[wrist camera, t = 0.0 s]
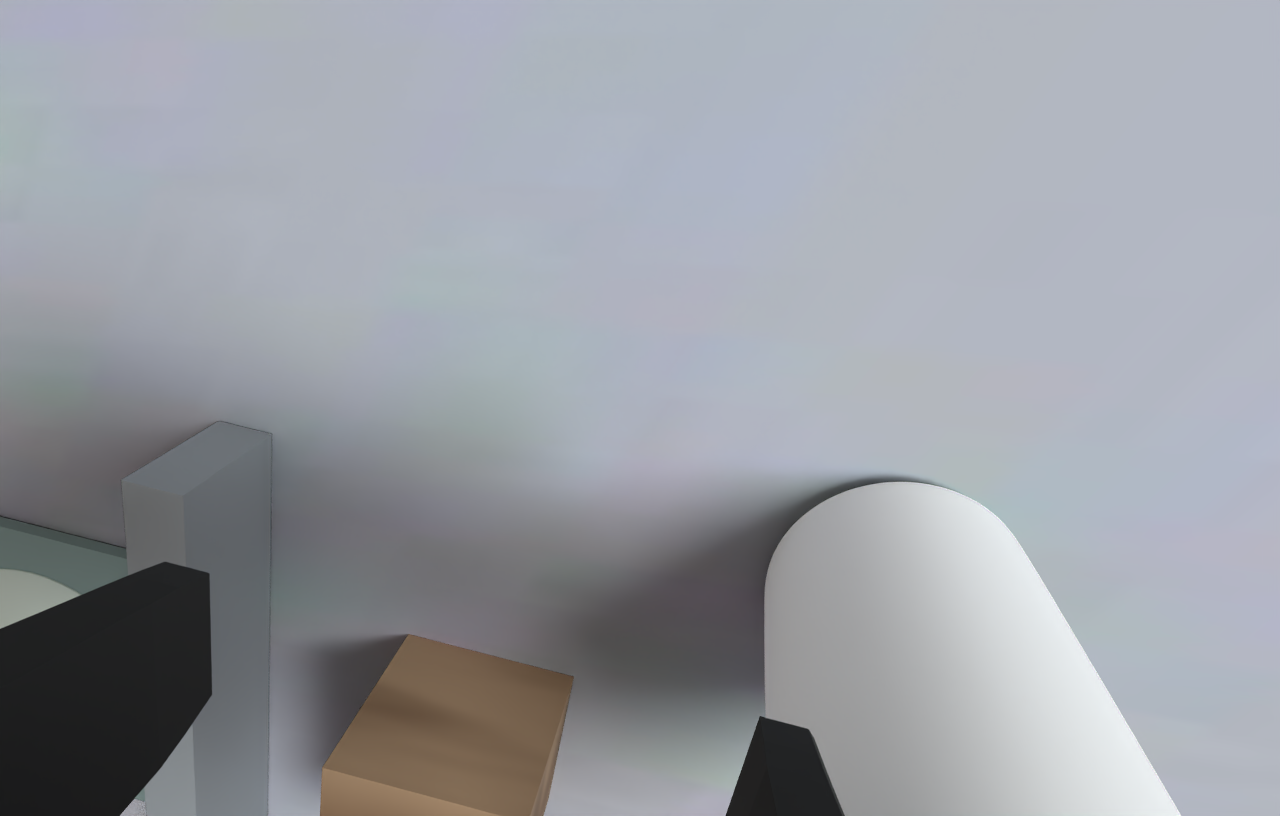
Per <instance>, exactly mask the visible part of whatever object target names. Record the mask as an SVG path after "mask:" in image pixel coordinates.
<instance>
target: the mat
mask: <svg viewBox="0 0 1280 816" xmlns="http://www.w3.org/2000/svg"><path fill="white" fill-rule="evenodd" d="M126 576H128V565H127V552H126V549H125V548H121V547H117V546H113V545H109V544H105V543H101V542H97V541H94V540H90V539H86V538H82V537H78V536H74V535H70V534H66V533H62V532H59V531H55V530H51V529H47V528H43V527H39V526H35V525H31V524H27V523H23V522H20V521H16V520H12V519H8V518H4V517H0V629H1V628H3V627H6V626H8V625H10V624H13V623H15V622H18V621H20V620H22V619H25V618H27V617H30V616H32V615H35V614H37V613H39V612H42V611H44V610H47V609H49V608H51V607H54V606H56V605H59V604H61V603H63V602H66V601H68V600H70V599H73V598H75V597H77V596H80V595H82V594H85V593H87V592H89V591H92V590H94V589H97V588H99V587H101V586H104V585H106V584H109V583H111V582H113V581H116V580H118V579H121V578H123V577H126ZM135 799H138V800H141V801H145V789H144V788H143V789H142V791H141V792H140V793H139V794H138V795H137V796H136V797H135Z"/></svg>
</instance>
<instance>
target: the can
mask: <svg viewBox="0 0 1280 816" xmlns="http://www.w3.org/2000/svg"><path fill="white" fill-rule="evenodd" d="M764 647H765V718H769V719H772V720H776V721H780V722H784V723H788V724H792V725H795V726H799V727H803V728H807V729H809V730H810V732H811V734H812V735H813V737H814V739H815V741H816V744H817V747H818V749H819V752H820V755H821V757H822V760H823V762H824V765H825V768H826V770H827V773H828V775H829V778H830V780H831V783H832V786H833V788H834V790H835V793H836V795H837V798H838V800H839V803H840V805H841V808H842V810H843V812H844V815H845V816H1181V814H1180V813H1179V811H1178V809H1177V808H1176V806H1175V804H1174V803H1173V801H1172V799H1171V797H1170V796H1169V794H1168V792H1167V791H1166V789H1165V787H1164V785H1163V784H1162V782H1161V780H1160V779H1159V777H1158V775H1157V774H1156V772H1155V770H1154V768H1153V767H1152V765H1151V763H1150V762H1149V760H1148V758H1147V757H1146V755H1145V753H1144V751H1143V750H1142V748H1141V746H1140V745H1139V743H1138V741H1137V740H1136V738H1135V736H1134V734H1133V733H1132V731H1131V729H1130V728H1129V726H1128V724H1127V723H1126V721H1125V719H1124V718H1123V716H1122V714H1121V712H1120V711H1119V709H1118V707H1117V706H1116V704H1115V702H1114V701H1113V699H1112V697H1111V696H1110V694H1109V692H1108V690H1107V689H1106V687H1105V685H1104V684H1103V682H1102V680H1101V679H1100V677H1099V675H1098V674H1097V672H1096V670H1095V668H1094V667H1093V665H1092V663H1091V662H1090V660H1089V658H1088V657H1087V655H1086V653H1085V652H1084V650H1083V648H1082V647H1081V645H1080V643H1079V642H1078V640H1077V638H1076V636H1075V635H1074V633H1073V631H1072V630H1071V628H1070V626H1069V625H1068V623H1067V621H1066V620H1065V618H1064V616H1063V615H1062V613H1061V611H1060V610H1059V608H1058V606H1057V605H1056V603H1055V601H1054V600H1053V598H1052V596H1051V595H1050V593H1049V591H1048V590H1047V588H1046V586H1045V585H1044V583H1043V581H1042V580H1041V578H1040V576H1039V575H1038V573H1037V571H1036V570H1035V568H1034V566H1033V565H1032V563H1031V562H1030V560H1029V558H1028V557H1027V555H1026V553H1025V552H1024V550H1023V549H1022V547H1021V546H1020V544H1019V542H1018V541H1017V539H1016V538H1015V537H1014V535H1013V534H1012V533H1011V531H1010V530H1009V529H1008V528H1007V527H1006V525H1005V524H1004V523H1003V522H1002V521H1001V520H1000V519H999V518H998V517H997V516H996V515H994V514H993V513H992V512H991V511H990V510H988V509H987V508H986V507H984V506H983V505H981V504H979V503H978V502H976V501H974V500H973V499H971V498H969V497H967V496H965V495H962V494H960V493H958V492H955V491H952V490H949V489H946V488H943V487H939V486H935V485H930V484H924V483H915V482H885V483H877V484H871V485H866V486H862V487H858V488H854V489H851V490H848V491H845V492H842V493H840V494H838V495H835V496H833V497H831V498H829V499H827V500H825V501H823V502H822V503H820V504H818V505H817V506H815V507H814V508H812V509H811V510H810V511H808V512H807V513H806V514H804V515H803V516H802V517H801V518H800V519H799V520H798V521H797V522H796V523H795V524H794V525H793V526H792V527H791V528H790V529H789V530H788V531H787V533H786V534H785V535H784V537H783V538H782V539H781V541H780V543H779V544H778V546H777V548H776V550H775V552H774V554H773V556H772V558H771V561H770V564H769V567H768V571H767V576H766V583H765V598H764Z"/></svg>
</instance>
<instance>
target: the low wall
mask: <svg viewBox="0 0 1280 816" xmlns="http://www.w3.org/2000/svg"><path fill="white" fill-rule="evenodd" d="M271 459H272V434H270V433H266V432H262V431H258V430H254V429H250V428H245V427H241V426H237V425H233V424H229V423H225V422H221V421H218V422H216V423H215V424H213V425H211V426H210V427H208V428H206V429H205V430H203V431H201V432H200V433H198V434H196V435H195V436H193V437H191V438H190V439H188V440H186V441H185V442H183V443H182V444H180V445H178V446H177V447H175V448H173V449H172V450H170V451H168V452H167V453H165V454H163V455H162V456H160V457H158V458H157V459H155V460H153V461H152V462H150V463H148V464H147V465H145V466H143V467H142V468H140V469H138V470H137V471H135V472H134V473H132V474H130V475H129V476H127V477H125V478H124V479H122V480H121V486H122V500H123V513H124V526H125V539H126V552H127V565H128V575H131V574H133V573H136V572H138V571H141V570H143V569H146V568H149V567H151V566H154V565H157V564H160V563H162V562H169V563H173V564H177V565H181V566H185V567H188V568H192V569H196V570H200V571H204V572H208V573H210V616H211V661H212V696H211V697H210V699H209V700H208V702H207V703H206V704H205V706H204V707H203V709H202V710H201V712H200V713H199V715H198V716H197V718H196V719H195V721H194V722H193V724H192V725H191V727H190V728H189V730H188V731H187V732H186V734H185V735H184V737H183V738H182V740H181V741H180V742H179V744H178V745H177V746H176V748H175V749H174V751H173V752H172V753H171V755H170V756H169V757H168V759H167V760H166V762H165V763H164V764H163V766H162V767H161V768H160V770H159V771H158V772H157V773H156V774H155V775H154V777H153V778H152V779H151V780H150V781H149V782H148V784H147V785H146V786H145V787H144V789H145V802H146V816H268V735H269V643H270V551H271Z"/></svg>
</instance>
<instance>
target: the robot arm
mask: <svg viewBox="0 0 1280 816" xmlns="http://www.w3.org/2000/svg"><path fill="white" fill-rule="evenodd" d="M211 696H212V661H211V616H210V573H208V572H204V571H200V570H196V569H192V568H188V567H185V566H181V565H177V564H173V563H169V562H162V563H160V564H157V565H154V566H151V567H149V568H146V569H143V570H141V571H138V572H136V573H133V574H131V575H128V576H126V577H123V578H121V579H118V580H116V581H113V582H111V583H109V584H106V585H104V586H101V587H99V588H97V589H94V590H92V591H89V592H87V593H85V594H82V595H80V596H77V597H75V598H73V599H70V600H68V601H66V602H63V603H61V604H59V605H56V606H54V607H51V608H49V609H47V610H44V611H42V612H39V613H37V614H35V615H32V616H30V617H27V618H25V619H22V620H20V621H18V622H15V623H13V624H10V625H8V626H6V627H3V628H1V629H0V816H120V814H121V813H122V812H123V811H124V810H125V809H126V808H127V806H128V805H129V804H130V803H131V802H132V801H133V800H134V799H135V797H136V796H137V795H138V794H139V793H140V792H141V791H142V789H143V788H144V787H145V786H146V785H147V784H148V782H149V781H150V780H151V779H152V778H153V777H154V775H155V774H156V773H157V772H158V771H159V770H160V768H161V767H162V766H163V764H164V763H165V762H166V760H167V759H168V757H169V756H170V755H171V753H172V752H173V751H174V749H175V748H176V746H177V745H178V744H179V742H180V741H181V740H182V738H183V737H184V735H185V734H186V732H187V731H188V730H189V728H190V727H191V725H192V724H193V722H194V721H195V719H196V718H197V716H198V715H199V713H200V712H201V710H202V709H203V707H204V706H205V704H206V703H207V702H208V700H209V699H210V697H211ZM726 816H845V815H844V812H843V810H842V808H841V805H840V803H839V800H838V798H837V795H836V793H835V790H834V788H833V786H832V783H831V780H830V778H829V775H828V773H827V770H826V768H825V765H824V762H823V760H822V757H821V755H820V752H819V749H818V747H817V744H816V741H815V739H814V737H813V735H812V734H811V732H810V730H809V729H807V728H803V727H799V726H795V725H792V724H788V723H784V722H780V721H776V720H772V719H769V718H765V717H761V716H760V718H759V721H758V723H757V726H756V729H755V732H754V735H753V738H752V741H751V744H750V747H749V750H748V752H747V755H746V758H745V761H744V764H743V767H742V770H741V773H740V776H739V779H738V781H737V784H736V787H735V790H734V793H733V796H732V799H731V802H730V805H729V808H728V810H727V813H726Z"/></svg>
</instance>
